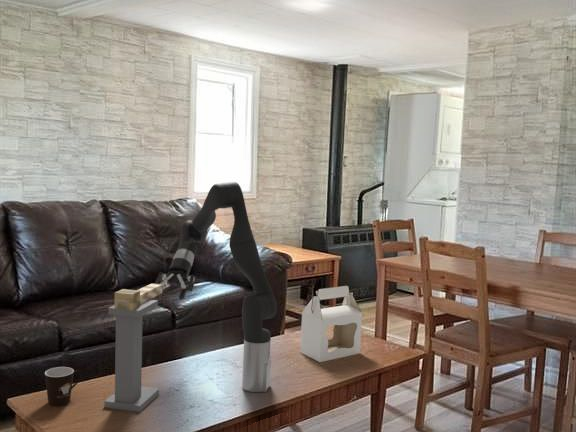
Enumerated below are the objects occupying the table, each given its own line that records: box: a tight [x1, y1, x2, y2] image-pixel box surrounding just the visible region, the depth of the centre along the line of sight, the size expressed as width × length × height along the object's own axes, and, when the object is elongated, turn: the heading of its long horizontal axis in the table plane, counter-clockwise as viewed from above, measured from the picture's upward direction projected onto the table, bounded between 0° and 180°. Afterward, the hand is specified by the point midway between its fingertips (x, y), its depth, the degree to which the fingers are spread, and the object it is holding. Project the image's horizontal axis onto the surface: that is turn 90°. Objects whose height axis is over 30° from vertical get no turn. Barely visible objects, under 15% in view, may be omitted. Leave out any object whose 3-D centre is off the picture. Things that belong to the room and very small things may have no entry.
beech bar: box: [113, 283, 163, 310], centre depth 190 cm, size 24×6×5 cm, turn 168°
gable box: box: [299, 285, 363, 363], centre depth 243 cm, size 22×13×28 cm, turn 126°
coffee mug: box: [44, 366, 83, 407], centre depth 186 cm, size 12×9×10 cm
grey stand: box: [103, 299, 160, 413], centre depth 187 cm, size 12×14×32 cm
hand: (169, 297), depth 213 cm, fingers open, 8 cm apart
